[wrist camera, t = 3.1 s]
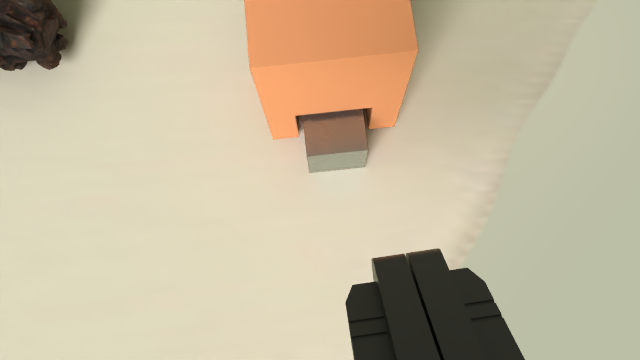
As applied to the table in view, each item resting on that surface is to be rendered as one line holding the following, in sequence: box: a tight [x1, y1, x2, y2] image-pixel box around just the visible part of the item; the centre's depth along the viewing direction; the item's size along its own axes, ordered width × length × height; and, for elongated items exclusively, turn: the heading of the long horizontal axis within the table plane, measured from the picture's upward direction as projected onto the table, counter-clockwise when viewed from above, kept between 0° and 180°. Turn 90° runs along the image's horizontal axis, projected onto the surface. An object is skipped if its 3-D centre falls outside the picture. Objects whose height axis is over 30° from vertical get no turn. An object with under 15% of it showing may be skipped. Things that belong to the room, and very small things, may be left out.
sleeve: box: [244, 0, 418, 139], centre depth 26 cm, size 4×7×9 cm, turn 96°
